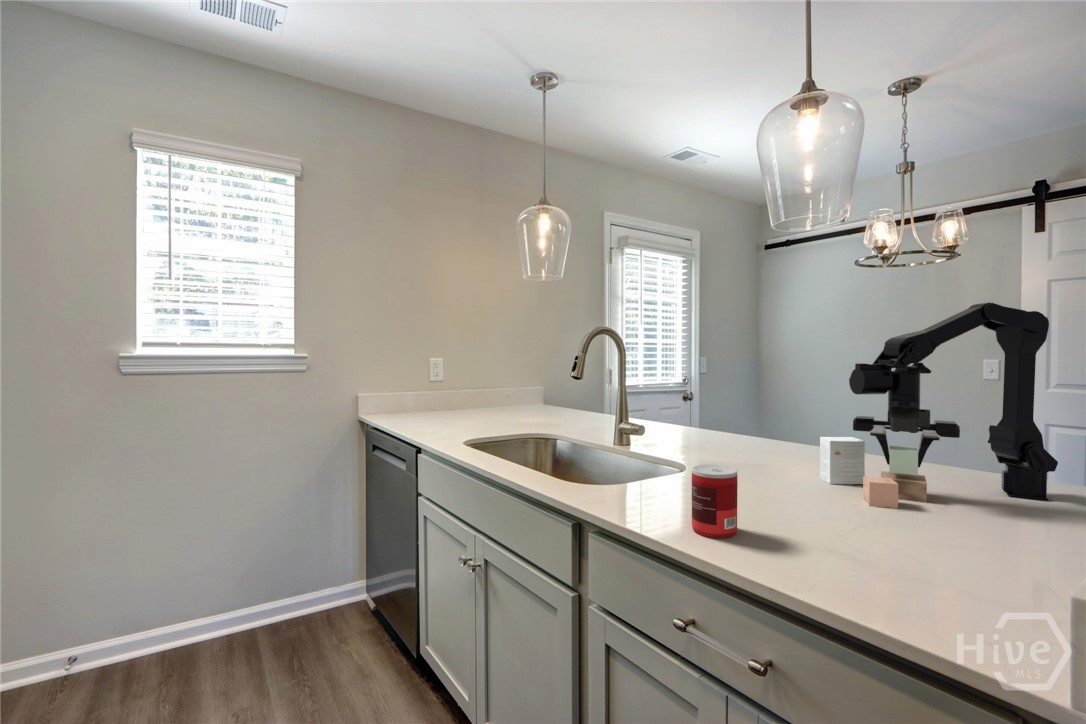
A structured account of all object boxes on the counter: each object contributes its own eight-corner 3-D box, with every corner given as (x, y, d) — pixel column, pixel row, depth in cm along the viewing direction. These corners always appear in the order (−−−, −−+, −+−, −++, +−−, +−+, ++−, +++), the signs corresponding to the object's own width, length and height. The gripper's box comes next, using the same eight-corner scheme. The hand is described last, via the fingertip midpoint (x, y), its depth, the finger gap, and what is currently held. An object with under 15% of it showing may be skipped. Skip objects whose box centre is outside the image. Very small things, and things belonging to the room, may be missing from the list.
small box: (853, 479, 127) (853, 436, 126) (865, 485, 121) (865, 440, 121) (819, 478, 127) (819, 436, 127) (829, 484, 122) (829, 440, 122)
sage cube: (916, 470, 113) (917, 447, 113) (917, 475, 109) (918, 451, 109) (889, 467, 116) (889, 445, 116) (889, 472, 112) (889, 449, 112)
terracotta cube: (890, 501, 108) (890, 478, 108) (898, 508, 103) (898, 484, 103) (863, 499, 110) (863, 476, 110) (869, 506, 105) (869, 482, 105)
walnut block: (924, 493, 114) (924, 475, 113) (926, 502, 107) (926, 483, 107) (881, 488, 118) (881, 471, 118) (880, 496, 111) (880, 478, 111)
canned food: (736, 526, 93) (736, 465, 93) (737, 541, 86) (738, 476, 86) (692, 521, 96) (692, 462, 96) (690, 536, 88) (690, 472, 88)
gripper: (851, 395, 111) (851, 467, 111) (963, 399, 100) (962, 479, 100) (854, 391, 120) (854, 458, 120) (957, 395, 109) (956, 468, 110)
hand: (903, 465), depth 112 cm, fingers closed on sage cube, 5 cm apart
